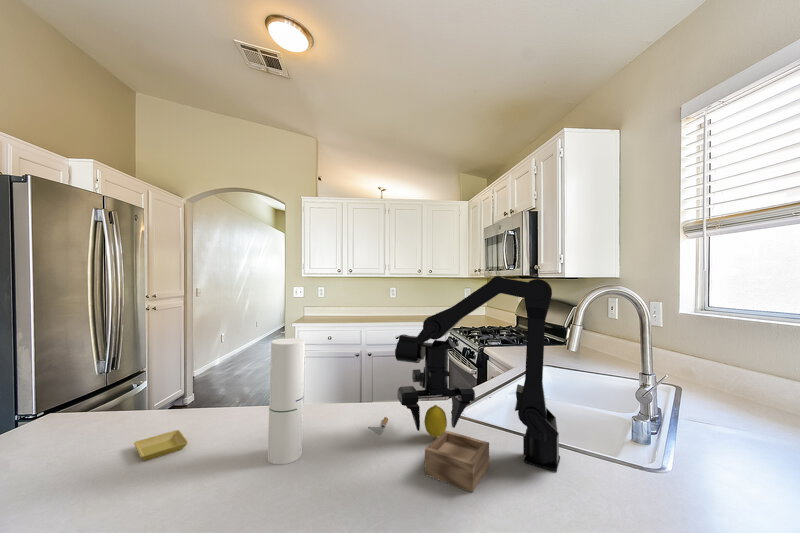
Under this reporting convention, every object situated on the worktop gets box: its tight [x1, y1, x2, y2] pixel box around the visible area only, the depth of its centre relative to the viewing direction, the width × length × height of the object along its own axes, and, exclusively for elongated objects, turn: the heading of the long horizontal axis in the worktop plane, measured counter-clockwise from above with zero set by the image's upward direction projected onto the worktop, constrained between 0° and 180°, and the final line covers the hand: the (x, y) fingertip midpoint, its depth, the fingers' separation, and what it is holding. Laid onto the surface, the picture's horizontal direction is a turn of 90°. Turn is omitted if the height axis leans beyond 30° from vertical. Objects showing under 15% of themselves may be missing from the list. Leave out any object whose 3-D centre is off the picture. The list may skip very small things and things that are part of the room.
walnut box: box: [424, 430, 490, 493], centre depth 67 cm, size 10×10×5 cm
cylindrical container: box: [267, 338, 306, 465], centre depth 72 cm, size 7×7×25 cm
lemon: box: [424, 404, 448, 439], centre depth 81 cm, size 6×6×8 cm
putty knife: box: [367, 416, 389, 437], centre depth 85 cm, size 13×1×5 cm
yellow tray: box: [133, 429, 189, 462], centre depth 73 cm, size 9×9×2 cm
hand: (435, 428), depth 81 cm, fingers open, 9 cm apart
